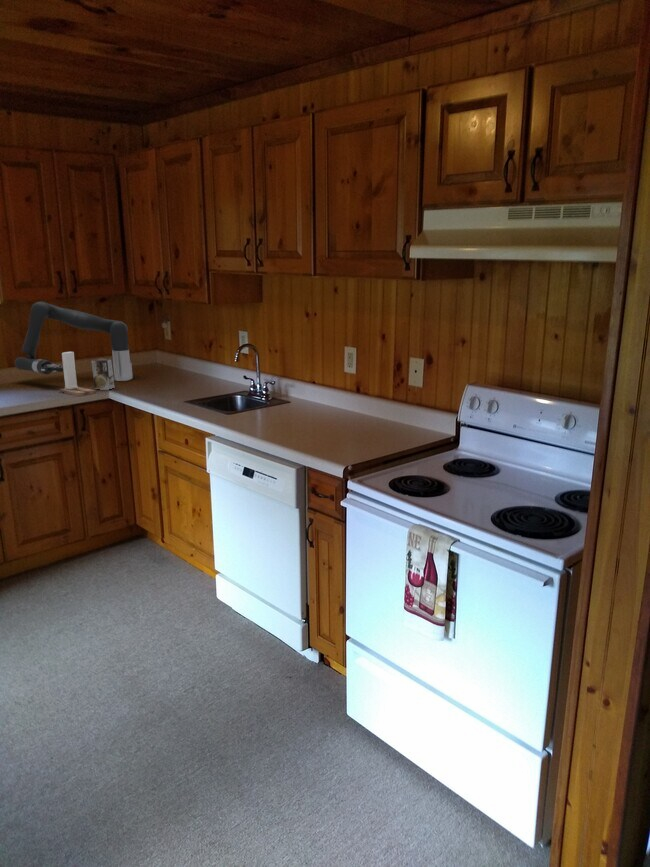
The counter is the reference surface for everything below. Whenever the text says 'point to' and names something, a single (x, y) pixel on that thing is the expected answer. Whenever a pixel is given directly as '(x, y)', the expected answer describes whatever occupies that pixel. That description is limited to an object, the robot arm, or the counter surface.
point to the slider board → (78, 391)
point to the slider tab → (69, 370)
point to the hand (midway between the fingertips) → (61, 369)
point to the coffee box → (103, 374)
